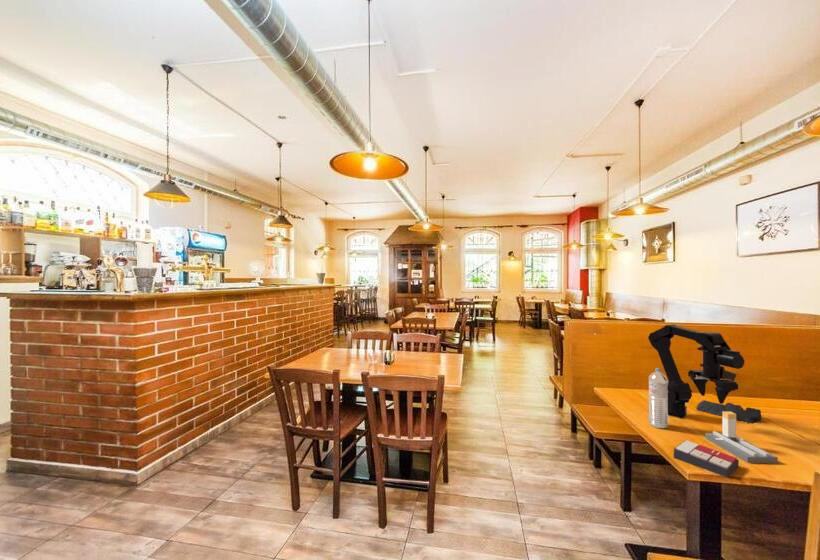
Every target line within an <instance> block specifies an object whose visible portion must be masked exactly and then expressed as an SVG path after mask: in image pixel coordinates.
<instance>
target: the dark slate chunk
mask: <svg viewBox="0 0 820 560" xmlns="http://www.w3.org/2000/svg"><path fill="white" fill-rule="evenodd" d="M695 408H696V411H697V412H701V411H702V412H701V413H705V412H706V414H709V413H710V415H713V414H714V415H713V416H717V415H718V416H717V417H721V416H722V412H733V413H735V414H736V421H737V420H738V421H739V422H741V421H743V423H745V422H748V423H747V424H749V423H752V424H753V423H757V424H758V422H761V421H762V411H761V410H760V408H757V409H756V408H753V407H750V406H749V407H746V409H744V408H743V406H741V405H740V404H734V403H731V402H726V403H725V404H720V403H717V402H714V401H713V402H712V401H709V400H705V399H703V400H701V401H700V402H699V403H698V404H697V406H696V407H695Z"/></svg>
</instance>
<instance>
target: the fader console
mask: <svg viewBox="0 0 820 560" xmlns="http://www.w3.org/2000/svg"><path fill="white" fill-rule="evenodd" d="M704 435H705V436H704V438H705V439H706V440H707V441H709V442H712V443H713V444H715V445H716V446H718V447H720V448H721V449H723V450H725V451H727V452H728V453H731V454H732V455H734V457H736V458H739V459H741V460H743V461H744V462H746V463H748V464H749V463H752V464H753V463H754V464H755V463H756V464H769V463H770V464H779V463H778V462H779V461H778V460H779V458H778V456H776V455H774V454H772V453H770V452H768V451H766V450H764V449H762V448H761V447H758V446H756V445H755V444H752V442H749V441H747V440H745V439H743V438H741V437H739V436H737V435H736V440H731V439H729V438H727V437H725V436H723V432H721V433H719V432H717V431H715V430H714V431H712V432H707V433H706V432H705V434H704Z"/></svg>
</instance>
